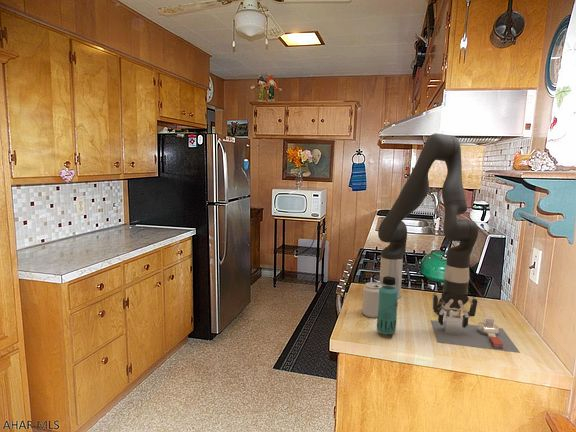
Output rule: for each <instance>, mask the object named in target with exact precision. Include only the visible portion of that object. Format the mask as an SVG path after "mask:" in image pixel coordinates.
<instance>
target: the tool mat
mask: <svg viewBox="0 0 576 432" xmlns="http://www.w3.org/2000/svg"><path fill="white" fill-rule="evenodd" d="M429 322H430V324H431V326H432V329H433V334H434V336H435V340H436V343H438V344H446V345H452V346H453V345H455V346H460V347H461V346H462V347H469V348H477V349H486V350H487V349H488V350H494V351H500V352H509V353H519V354H521V352H520V350H519V349H518V347H517V346H516V345H515V343H514V342H513V340H512V339H511V338H510V337H509V335H508V334H507V333H506V331H505V329H503V328H502V327H499V332H498V336H496V337H498V338H499V339H500V341H501V342H502V343H503V349H497V348H493V347H492V345H491V343H490V342H489V338H488V337H487V336H486V335H483V334H481V333H479V332H478V331H477V328H478V324H477V325H474V324H468V325H467V326H466V328H463V326H462V331H461V336H460V335H452V334H445V332H444V329H443V325H440V323H439V322H438V320H432V319H430V321H429Z"/></svg>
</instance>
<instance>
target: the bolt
mask: <svg viewBox="0 0 576 432" xmlns="http://www.w3.org/2000/svg"><path fill="white" fill-rule="evenodd" d="M443 302H444V301H443V299H442V298H440V300H439V301H438V308H440V307H441V306H442V304H443ZM446 311H447V310H446ZM436 314H437V315H438V313H436ZM443 315H444V313H443Z"/></svg>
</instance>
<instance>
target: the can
mask: <svg viewBox="0 0 576 432" xmlns="http://www.w3.org/2000/svg"><path fill="white" fill-rule="evenodd" d="M381 287H382V285H381V284H379V282H366V283H365V284H364V286H363V289H362V309H361V313H363V315H364V316H366V317H367V318H373V319H374V318H375V319H377V316H378V302H379V289H380V288H381Z"/></svg>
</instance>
